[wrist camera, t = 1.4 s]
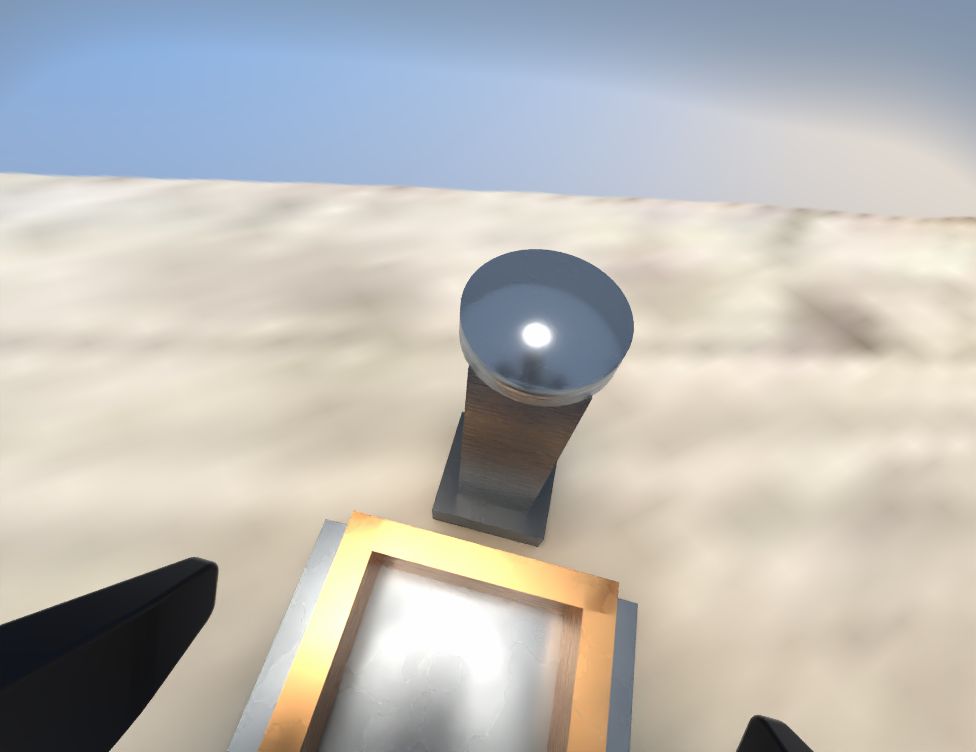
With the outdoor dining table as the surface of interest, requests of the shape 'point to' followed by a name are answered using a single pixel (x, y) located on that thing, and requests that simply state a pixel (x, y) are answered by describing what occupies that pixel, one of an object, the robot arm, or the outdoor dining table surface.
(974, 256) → the outdoor dining table surface
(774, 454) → the outdoor dining table surface
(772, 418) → the outdoor dining table surface
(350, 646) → the keeper cradle
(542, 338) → the grey piece
